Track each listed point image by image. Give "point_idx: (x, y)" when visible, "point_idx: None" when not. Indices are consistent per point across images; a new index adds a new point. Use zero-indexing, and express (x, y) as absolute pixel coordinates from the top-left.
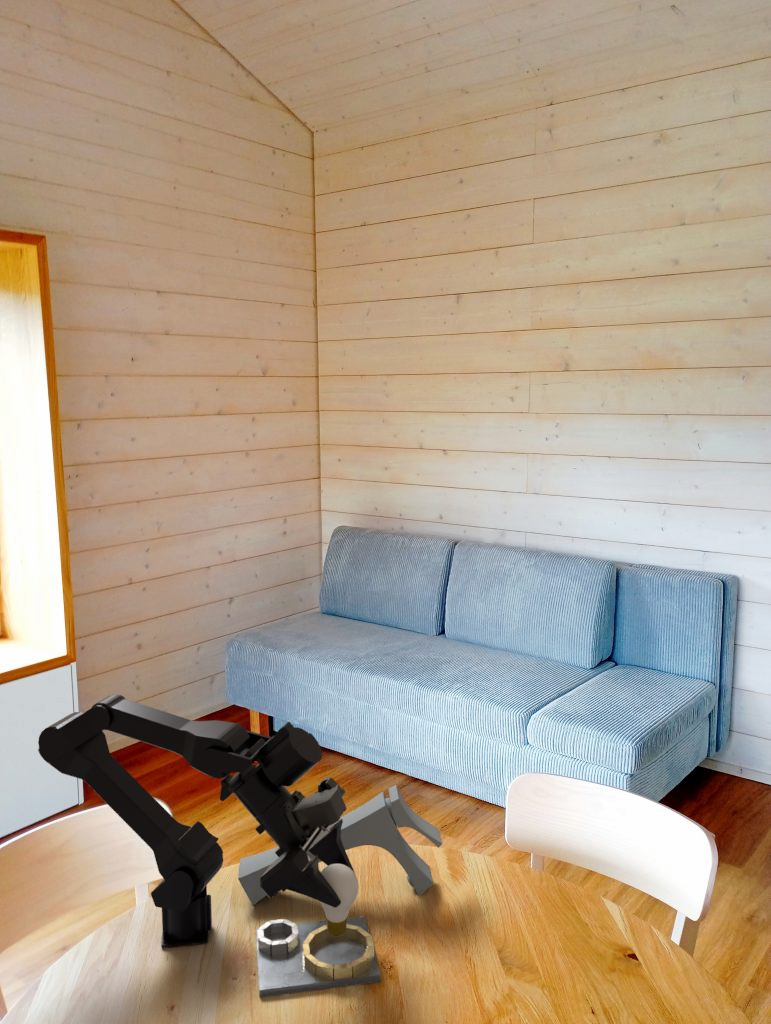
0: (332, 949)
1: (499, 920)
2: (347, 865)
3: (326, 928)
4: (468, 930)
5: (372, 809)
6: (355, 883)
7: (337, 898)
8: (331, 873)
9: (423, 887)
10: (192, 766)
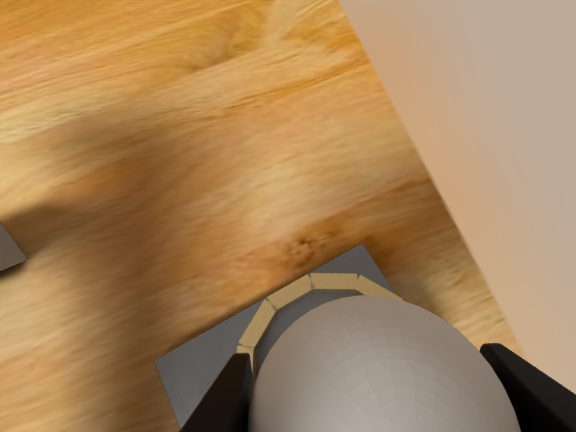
0: None
1: (100, 85)
2: (235, 418)
3: None
4: (143, 129)
5: None
6: (374, 300)
7: (519, 361)
8: None
9: (8, 244)
10: None
